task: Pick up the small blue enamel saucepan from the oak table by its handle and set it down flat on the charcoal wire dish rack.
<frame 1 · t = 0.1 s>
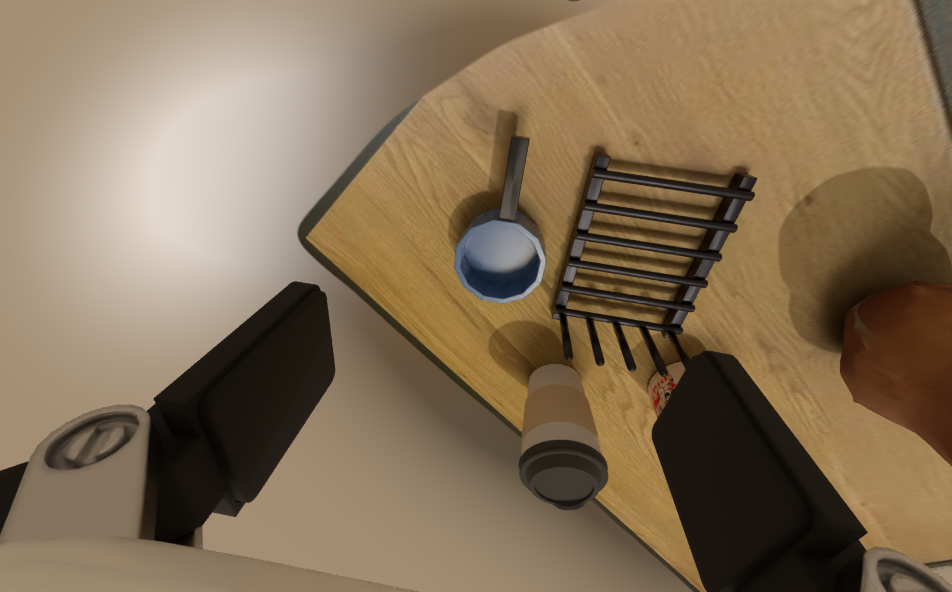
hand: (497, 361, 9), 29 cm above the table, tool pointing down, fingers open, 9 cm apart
dish rack: (636, 252, 37), on the table
saucepan: (501, 248, 39), on the table
teacup with lid: (680, 392, 46), on the table
butternut squash: (872, 315, 38), on the table
coffee cup: (554, 381, 48), on the table
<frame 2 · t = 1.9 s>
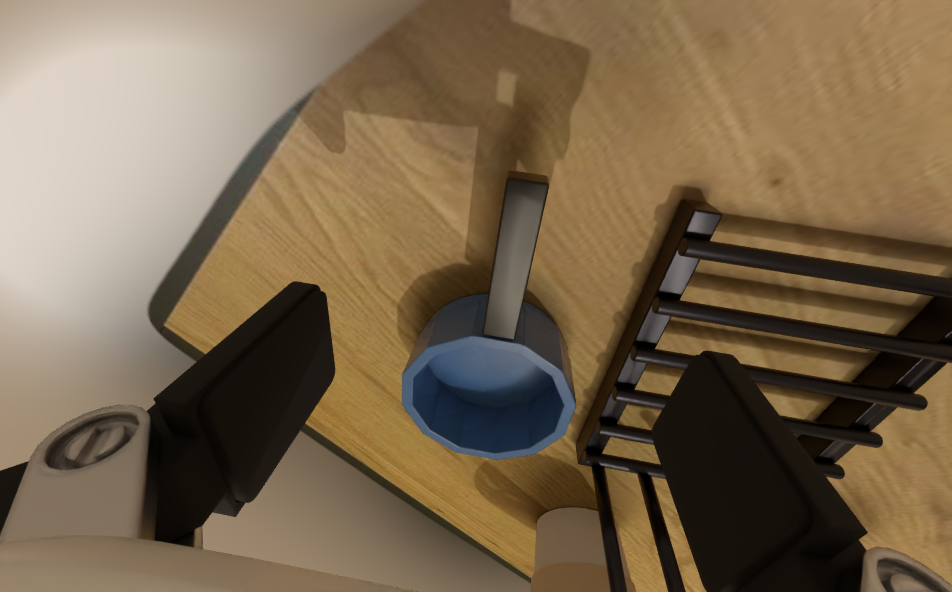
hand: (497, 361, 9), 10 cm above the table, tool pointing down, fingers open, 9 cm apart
dish rack: (739, 372, 20), on the table
saucepan: (492, 355, 22), on the table
coffee cup: (576, 525, 31), on the table
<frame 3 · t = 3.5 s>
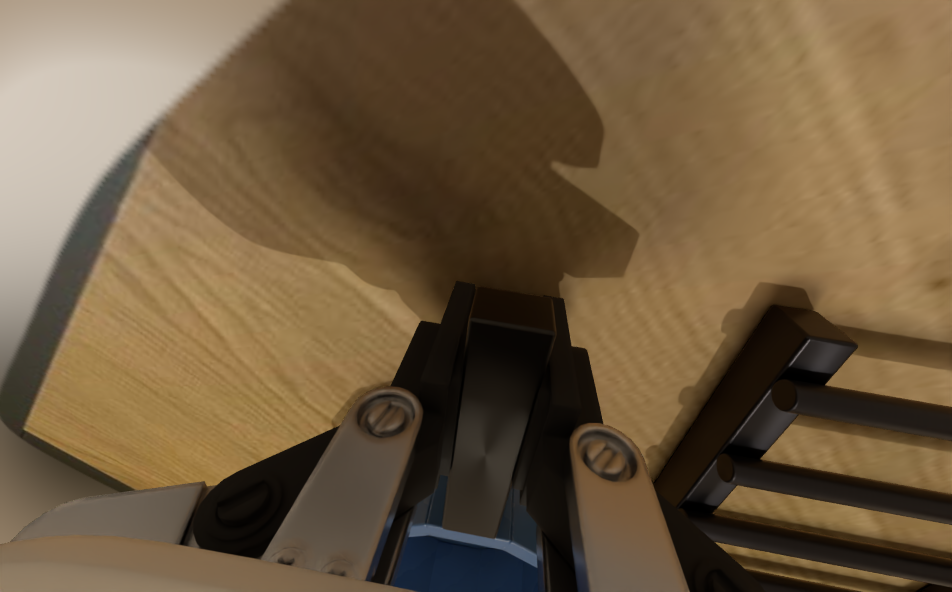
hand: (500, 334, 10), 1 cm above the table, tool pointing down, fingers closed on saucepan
dish rack: (828, 524, 14), on the table
saucepan: (470, 486, 16), on the table, touching gripper
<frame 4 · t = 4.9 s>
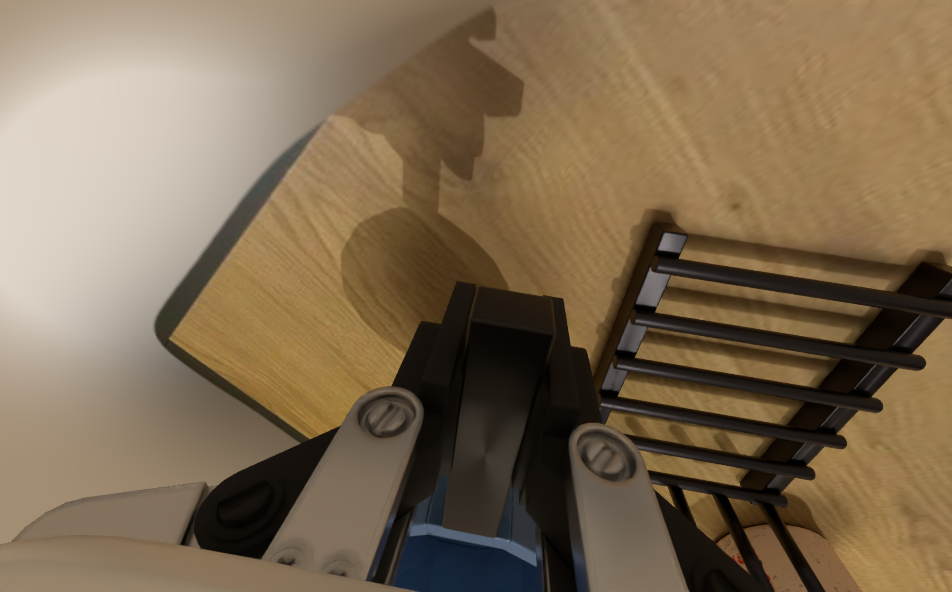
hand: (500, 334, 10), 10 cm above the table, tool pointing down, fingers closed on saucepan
dish rack: (714, 379, 22), on the table
saucepan: (470, 485, 16), point 9 cm above the table, touching gripper
teacup with lid: (760, 557, 31), on the table
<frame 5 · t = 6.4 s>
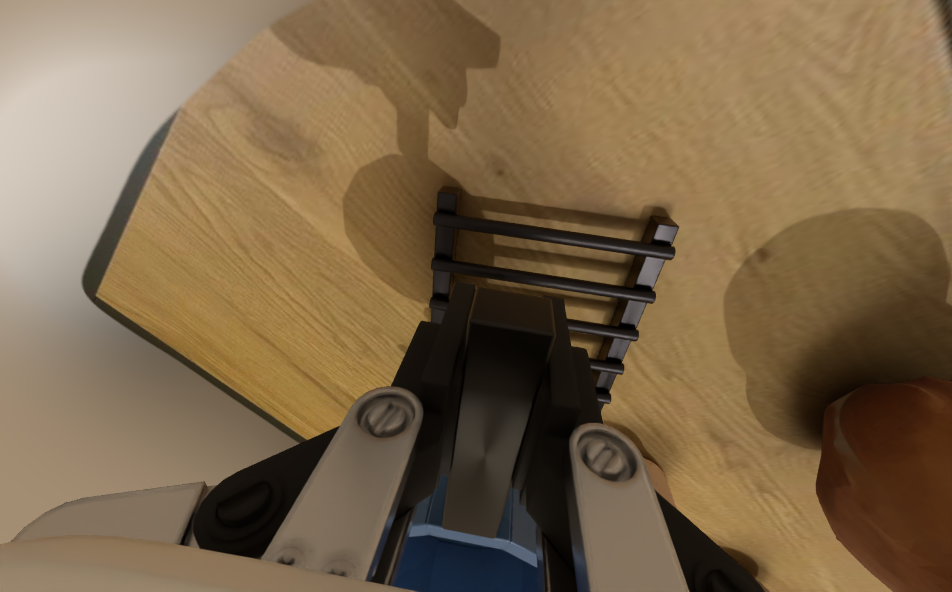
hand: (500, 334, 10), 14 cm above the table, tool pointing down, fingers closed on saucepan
dish rack: (528, 320, 26), on the table
saucepan: (470, 486, 16), point 13 cm above the table, touching gripper
teacup with lid: (615, 486, 35), on the table
butternut squash: (864, 406, 27), on the table
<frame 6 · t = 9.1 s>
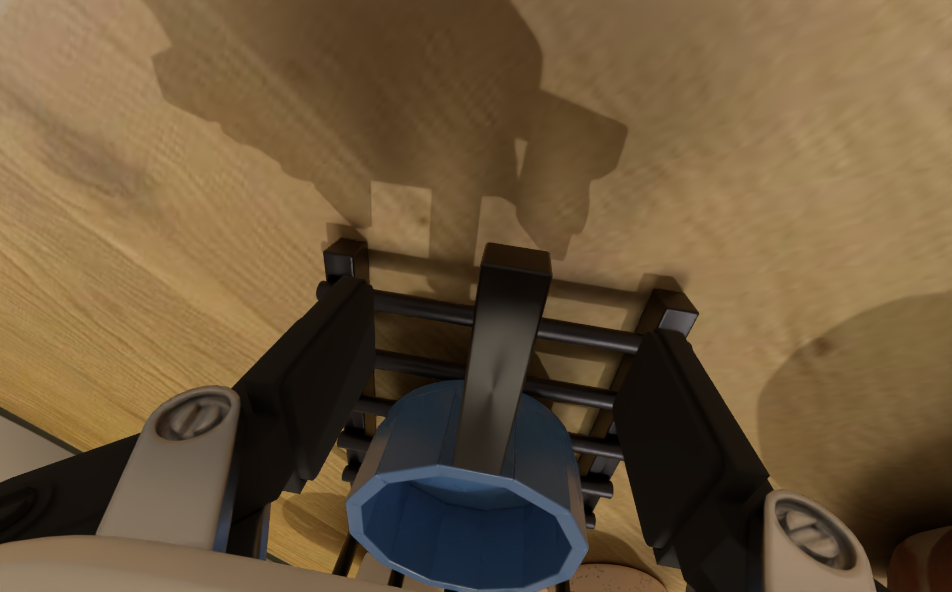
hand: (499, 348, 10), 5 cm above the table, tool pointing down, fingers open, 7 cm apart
dish rack: (480, 414, 19), on the table
saucepan: (475, 449, 17), point 2 cm above the table, touching dish rack
butternut squash: (942, 533, 20), on the table
coffee cup: (404, 565, 30), on the table
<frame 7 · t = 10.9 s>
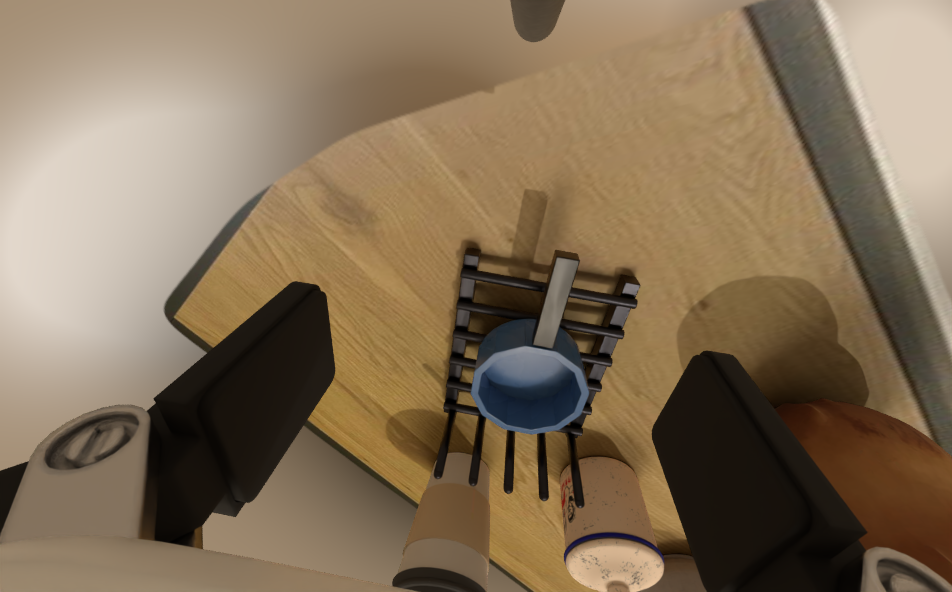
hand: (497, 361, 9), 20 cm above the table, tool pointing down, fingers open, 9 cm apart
dish rack: (527, 348, 34), on the table
saucepan: (528, 361, 32), point 2 cm above the table, touching dish rack
teacup with lid: (596, 485, 42), on the table
butternut squash: (788, 421, 34), on the table
coffee pot: (698, 582, 49), on the table
coffee cup: (461, 469, 44), on the table
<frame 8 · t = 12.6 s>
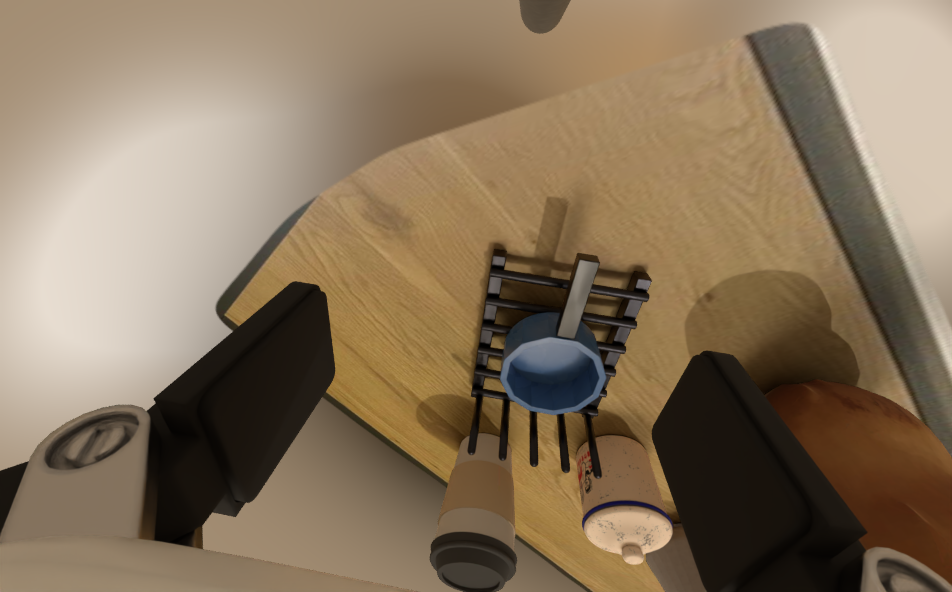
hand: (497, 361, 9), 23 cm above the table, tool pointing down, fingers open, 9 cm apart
dish rack: (548, 337, 37), on the table
saucepan: (549, 350, 35), point 2 cm above the table, touching dish rack
teacup with lid: (609, 461, 46), on the table
butternut squash: (786, 400, 38), on the table
coffee pot: (703, 549, 54), on the table
coffee cup: (485, 448, 48), on the table
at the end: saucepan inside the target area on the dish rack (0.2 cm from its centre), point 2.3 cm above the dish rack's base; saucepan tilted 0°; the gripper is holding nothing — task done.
